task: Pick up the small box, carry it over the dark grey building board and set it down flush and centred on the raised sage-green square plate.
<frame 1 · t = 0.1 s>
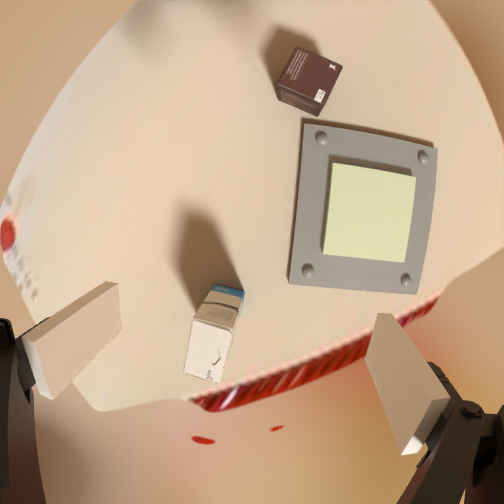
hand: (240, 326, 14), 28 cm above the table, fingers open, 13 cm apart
board: (367, 212, 39), on the table
ink box: (224, 311, 45), on the table
box: (305, 91, 36), on the table
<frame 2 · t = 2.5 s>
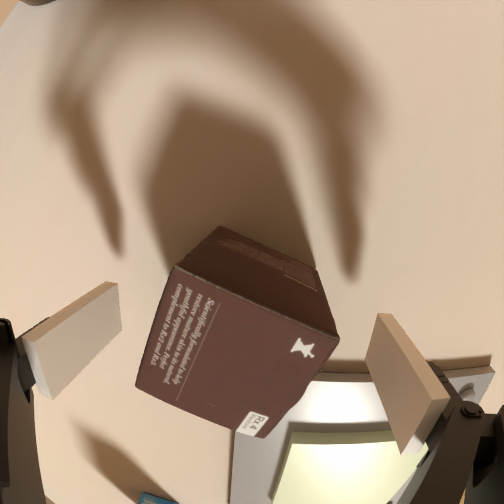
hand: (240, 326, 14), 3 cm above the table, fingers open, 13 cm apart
board: (347, 464, 20), on the table
box: (247, 291, 17), on the table
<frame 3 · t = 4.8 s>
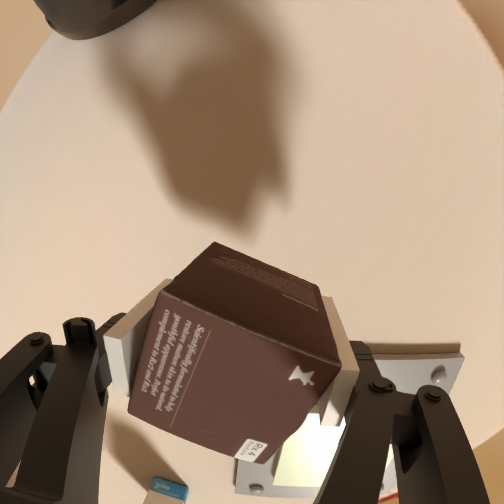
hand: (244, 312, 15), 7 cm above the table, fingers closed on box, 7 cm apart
board: (339, 441, 25), on the table
ink box: (170, 492, 30), on the table
box: (246, 309, 16), point 6 cm above the table, touching gripper
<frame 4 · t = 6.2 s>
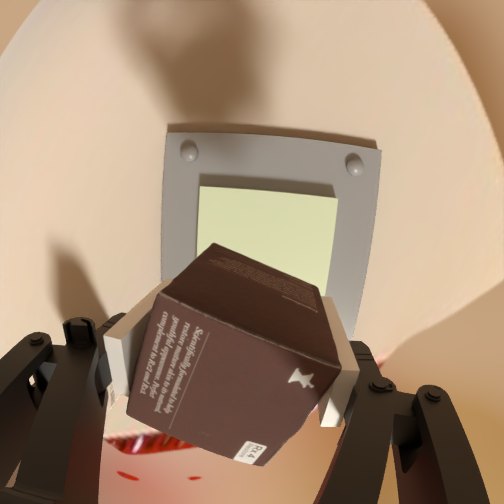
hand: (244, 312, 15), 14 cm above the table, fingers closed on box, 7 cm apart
board: (264, 253, 29), on the table
box: (245, 310, 16), point 13 cm above the table, touching gripper
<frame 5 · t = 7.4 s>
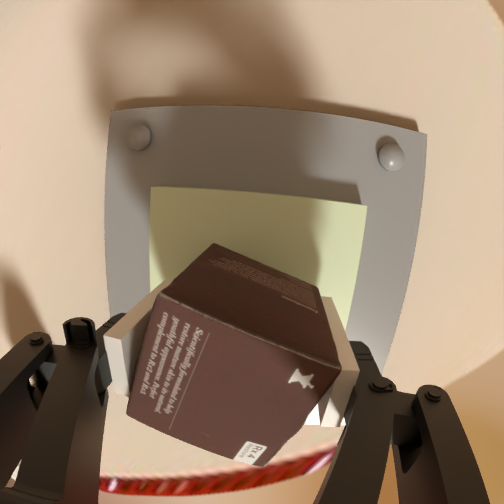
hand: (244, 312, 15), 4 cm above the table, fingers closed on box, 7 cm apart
board: (251, 286, 19), on the table
box: (245, 311, 16), point 3 cm above the table, touching gripper
when the fingers open (2 cm above the table, at t = 8.0 s): box stays where it is, resting on board.
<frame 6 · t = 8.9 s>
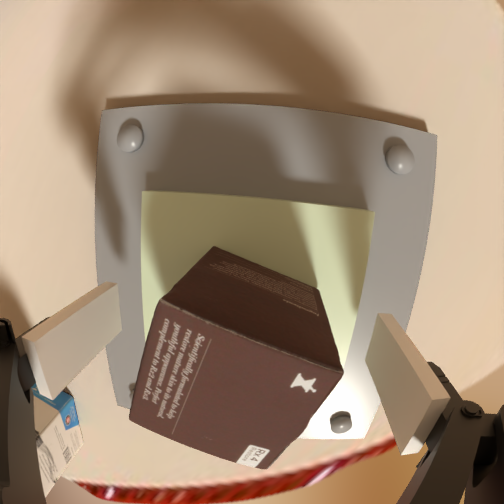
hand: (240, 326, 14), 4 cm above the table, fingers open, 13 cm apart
board: (250, 297, 18), on the table
ink box: (63, 411, 23), on the table
box: (246, 313, 16), point 2 cm above the table, touching board
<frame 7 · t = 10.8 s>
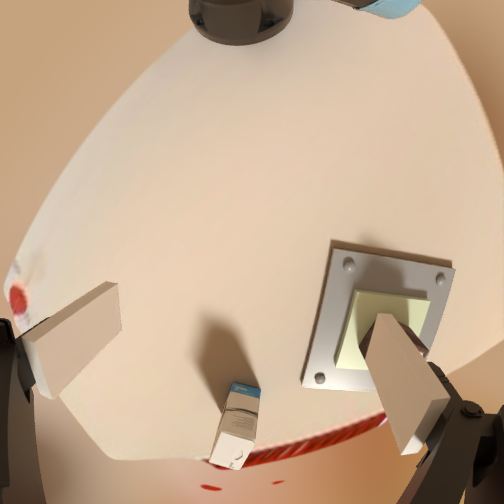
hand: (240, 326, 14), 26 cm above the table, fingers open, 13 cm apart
board: (380, 329, 40), on the table
ink box: (240, 401, 45), on the table
box: (383, 336, 39), point 2 cm above the table, touching board
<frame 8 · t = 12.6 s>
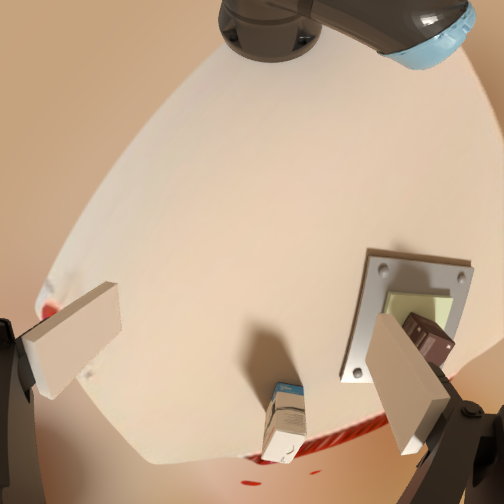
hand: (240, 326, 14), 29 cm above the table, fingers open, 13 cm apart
board: (409, 325, 43), on the table
ink box: (283, 400, 49), on the table
box: (413, 331, 41), point 2 cm above the table, touching board
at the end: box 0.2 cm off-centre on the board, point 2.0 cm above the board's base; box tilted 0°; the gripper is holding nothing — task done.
